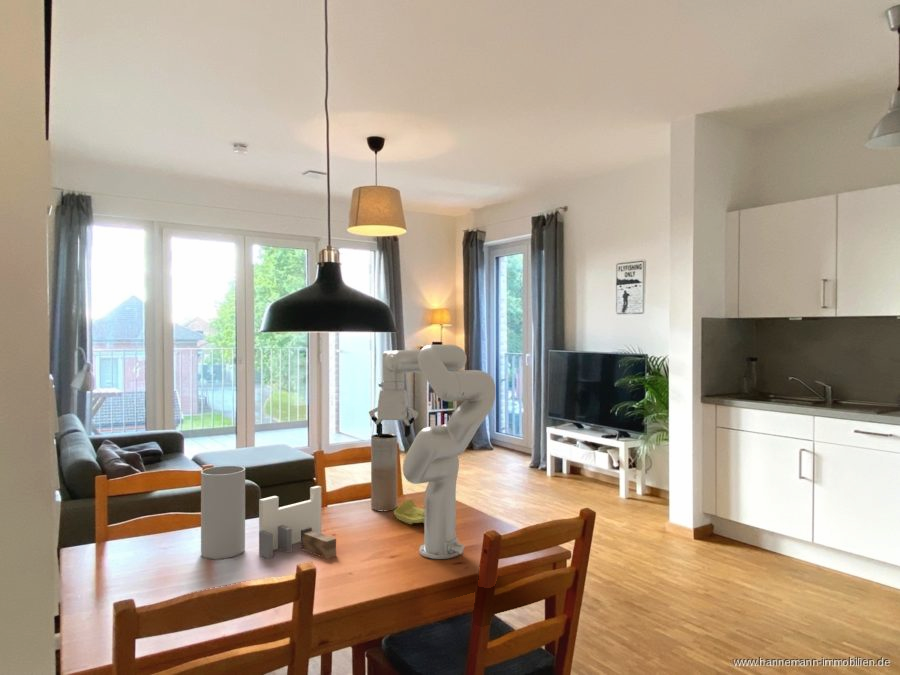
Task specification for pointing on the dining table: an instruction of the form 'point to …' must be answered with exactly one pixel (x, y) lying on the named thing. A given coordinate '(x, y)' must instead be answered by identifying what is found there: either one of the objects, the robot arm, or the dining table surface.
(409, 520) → the plastic component
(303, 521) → the headboard
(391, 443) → the planter
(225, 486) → the cylinder vase
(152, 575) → the dining table surface
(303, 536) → the rectangular block
